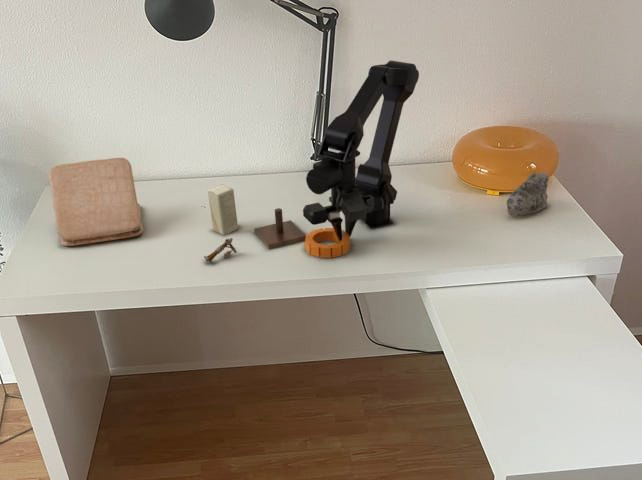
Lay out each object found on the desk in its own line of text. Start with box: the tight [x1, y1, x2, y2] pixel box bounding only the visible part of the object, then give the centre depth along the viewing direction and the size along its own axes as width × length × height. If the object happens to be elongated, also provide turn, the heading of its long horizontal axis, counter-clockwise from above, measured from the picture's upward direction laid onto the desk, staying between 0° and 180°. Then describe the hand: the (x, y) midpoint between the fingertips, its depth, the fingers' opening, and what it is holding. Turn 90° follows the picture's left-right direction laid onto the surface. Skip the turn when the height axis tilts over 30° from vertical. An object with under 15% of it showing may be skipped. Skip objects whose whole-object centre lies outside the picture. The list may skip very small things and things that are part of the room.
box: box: [207, 184, 239, 236], centre depth 190 cm, size 5×4×11 cm
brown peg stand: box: [253, 207, 307, 250], centre depth 187 cm, size 10×10×7 cm
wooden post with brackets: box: [203, 237, 238, 265], centre depth 180 cm, size 2×8×4 cm, turn 124°
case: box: [48, 157, 144, 247], centre depth 193 cm, size 20×21×16 cm
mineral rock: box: [506, 171, 549, 216], centre depth 194 cm, size 13×11×10 cm
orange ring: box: [304, 227, 351, 259], centre depth 183 cm, size 11×11×3 cm
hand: (344, 239), depth 185 cm, fingers closed on orange ring, 2 cm apart
